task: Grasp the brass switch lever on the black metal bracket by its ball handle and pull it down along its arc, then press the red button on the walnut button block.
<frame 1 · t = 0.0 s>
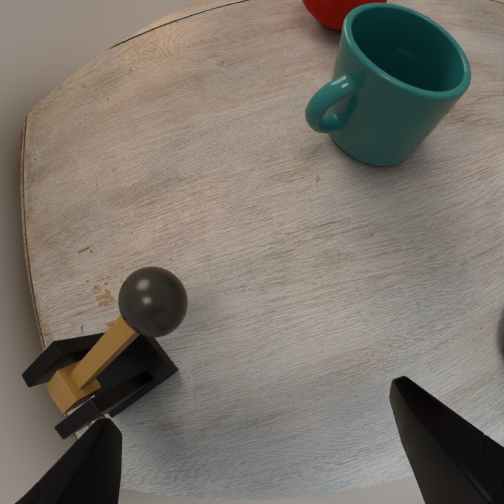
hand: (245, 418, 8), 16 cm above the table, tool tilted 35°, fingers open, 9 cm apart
cup: (358, 130, 26), on the table
switch lever: (104, 352, 15), point 10 cm above the table, hinge at 18.0°
switch bracket: (124, 365, 24), on the table
apple: (337, 21, 28), on the table
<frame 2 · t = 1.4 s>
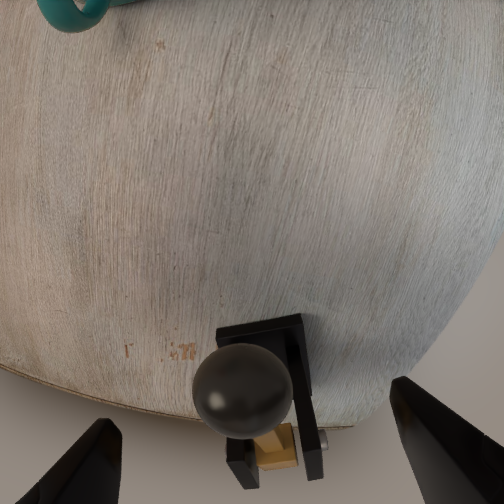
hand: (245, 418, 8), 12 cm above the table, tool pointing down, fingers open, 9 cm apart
switch lever: (264, 428, 13), point 10 cm above the table, hinge at 18.0°
switch bracket: (267, 361, 23), on the table
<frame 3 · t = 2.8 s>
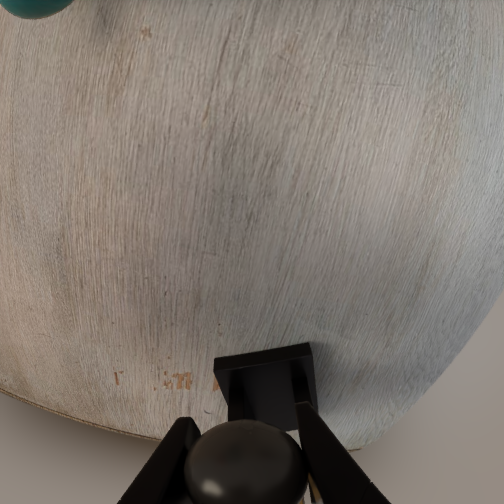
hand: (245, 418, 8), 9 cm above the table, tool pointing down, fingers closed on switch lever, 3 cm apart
switch lever: (269, 486, 10), point 10 cm above the table, hinge at 18.0°, touching gripper
switch bracket: (271, 390, 21), on the table
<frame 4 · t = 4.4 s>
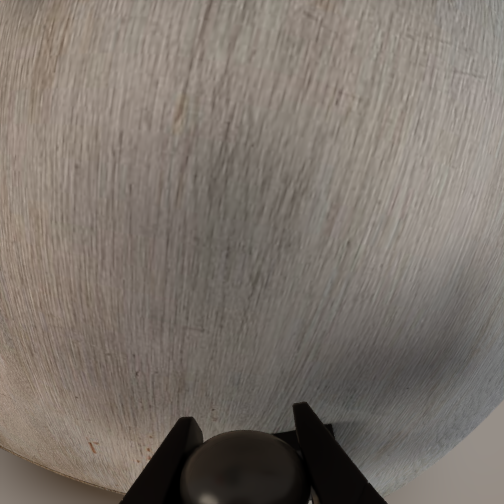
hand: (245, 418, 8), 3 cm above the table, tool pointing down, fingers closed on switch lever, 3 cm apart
switch bracket: (280, 467, 15), on the table
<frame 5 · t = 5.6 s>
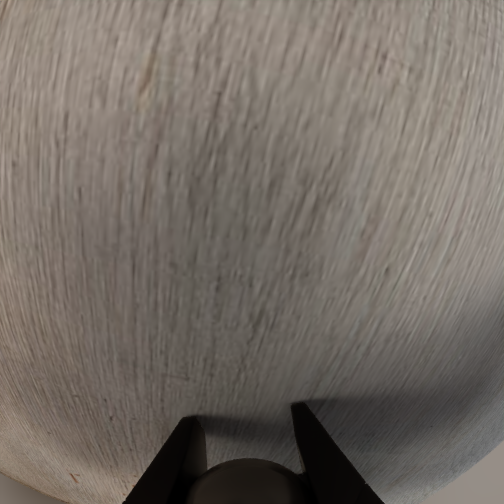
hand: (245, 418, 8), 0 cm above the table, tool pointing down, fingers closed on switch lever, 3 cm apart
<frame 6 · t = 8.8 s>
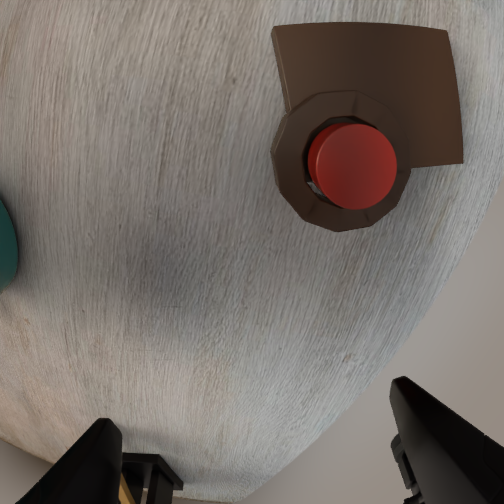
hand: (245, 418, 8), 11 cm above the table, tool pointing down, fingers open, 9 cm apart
button block: (374, 95, 15), on the table
switch lever: (123, 492, 22), point 6 cm above the table, hinge at -28.5°
switch bracket: (149, 469, 29), on the table
button: (351, 164, 13), point 4 cm above the table, slide at 0.1 cm
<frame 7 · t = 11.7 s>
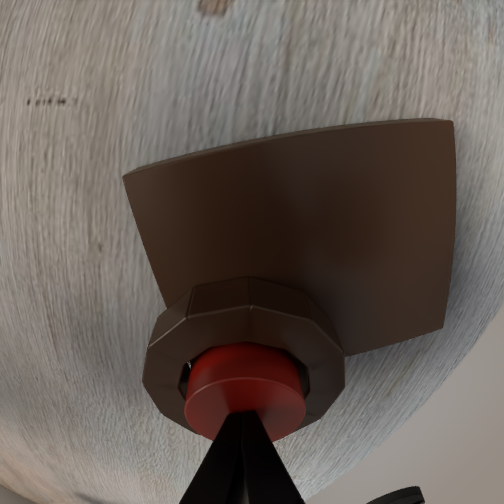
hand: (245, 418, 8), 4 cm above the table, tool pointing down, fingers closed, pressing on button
button block: (311, 249, 11), on the table
button: (244, 396, 9), point 3 cm above the table, slide at -0.2 cm, touching gripper
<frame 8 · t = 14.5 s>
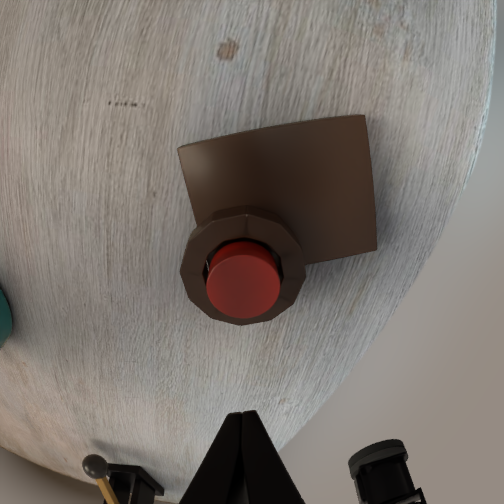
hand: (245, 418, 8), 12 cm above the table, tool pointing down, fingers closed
button block: (283, 194, 18), on the table
switch lever: (110, 497, 26), point 6 cm above the table, hinge at -28.5°
switch bracket: (134, 477, 33), on the table
button: (243, 280, 16), point 4 cm above the table, slide at 0.1 cm
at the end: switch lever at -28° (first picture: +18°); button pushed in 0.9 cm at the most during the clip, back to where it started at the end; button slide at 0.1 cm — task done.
